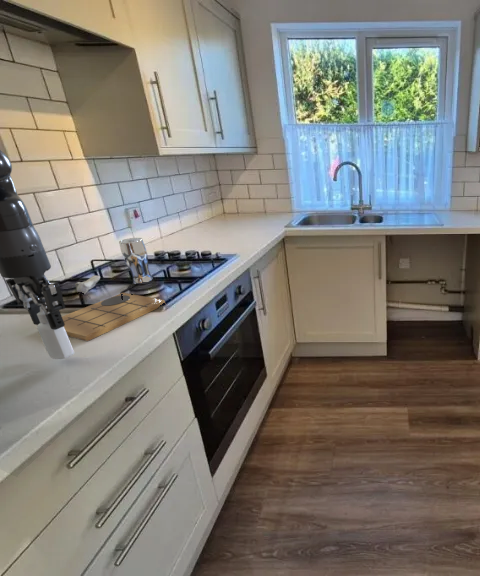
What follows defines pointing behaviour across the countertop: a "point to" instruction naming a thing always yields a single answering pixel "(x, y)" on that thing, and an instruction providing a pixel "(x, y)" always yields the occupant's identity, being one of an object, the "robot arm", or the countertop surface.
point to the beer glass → (136, 259)
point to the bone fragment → (87, 284)
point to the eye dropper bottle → (54, 339)
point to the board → (107, 315)
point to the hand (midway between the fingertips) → (49, 325)
